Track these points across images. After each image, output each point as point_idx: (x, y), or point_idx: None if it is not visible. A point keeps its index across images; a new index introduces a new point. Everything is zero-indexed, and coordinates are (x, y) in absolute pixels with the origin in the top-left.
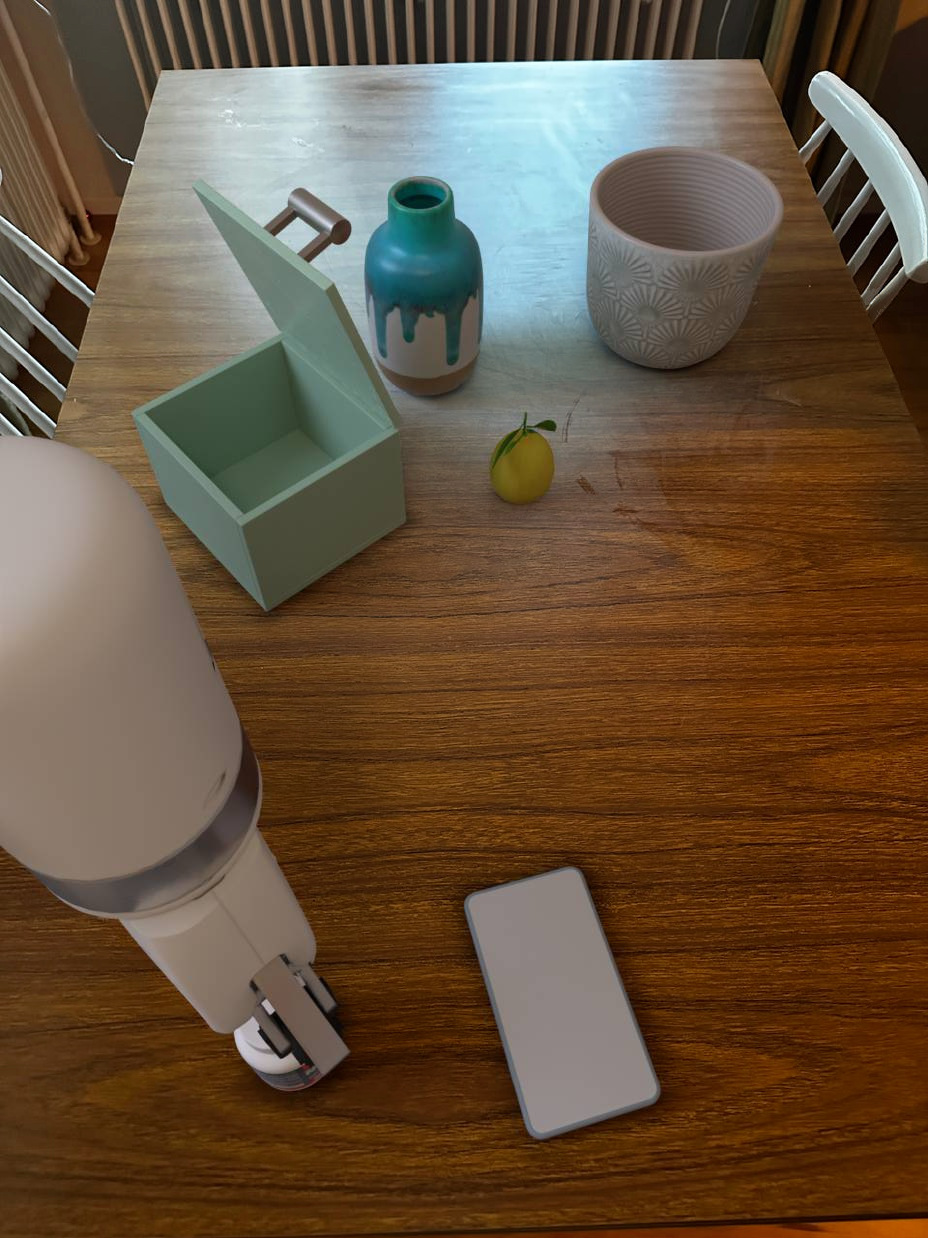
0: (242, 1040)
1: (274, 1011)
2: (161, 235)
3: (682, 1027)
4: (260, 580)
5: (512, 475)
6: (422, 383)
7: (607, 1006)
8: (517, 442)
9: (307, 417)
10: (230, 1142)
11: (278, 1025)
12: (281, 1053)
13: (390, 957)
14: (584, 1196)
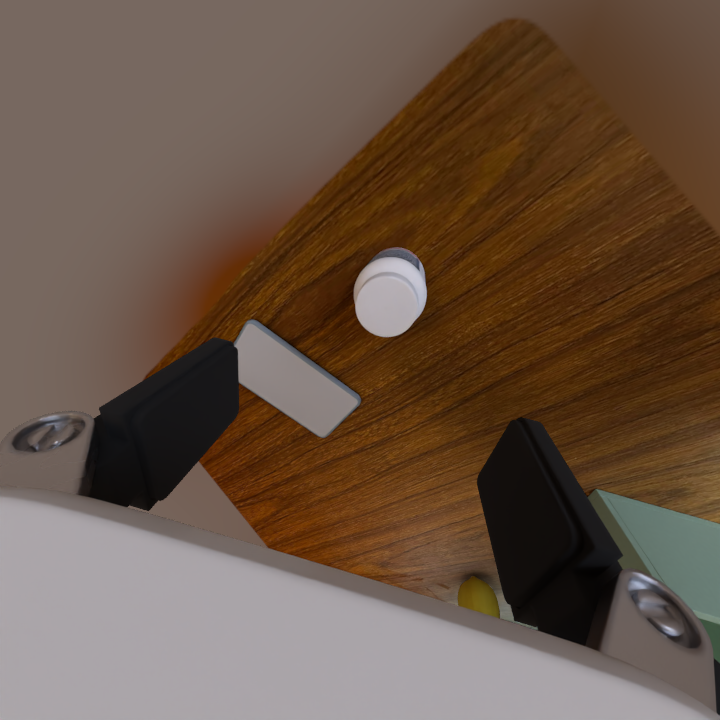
0: (402, 269)
1: (106, 468)
2: None
3: (240, 396)
4: (616, 524)
5: (478, 609)
6: None
7: (266, 391)
8: None
9: None
10: (392, 199)
11: (112, 437)
12: (18, 427)
13: (378, 352)
14: (219, 309)
